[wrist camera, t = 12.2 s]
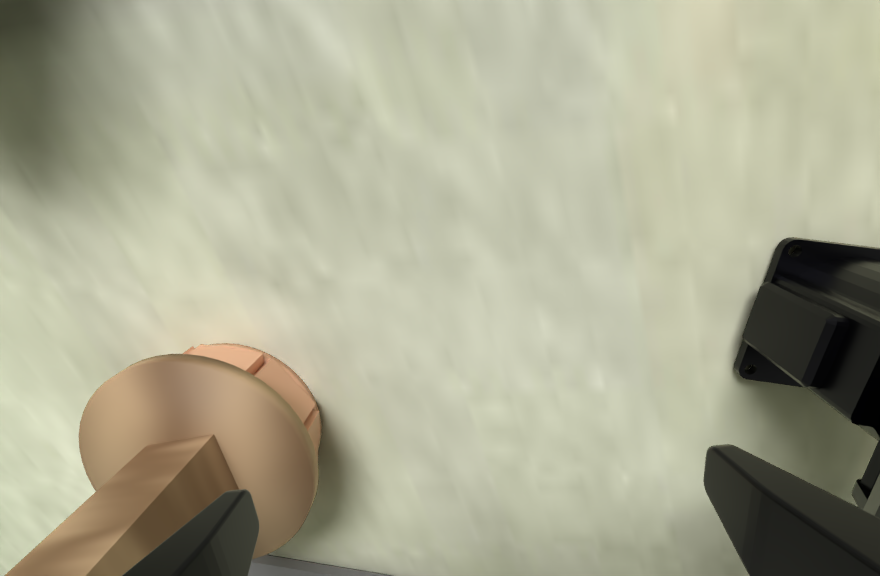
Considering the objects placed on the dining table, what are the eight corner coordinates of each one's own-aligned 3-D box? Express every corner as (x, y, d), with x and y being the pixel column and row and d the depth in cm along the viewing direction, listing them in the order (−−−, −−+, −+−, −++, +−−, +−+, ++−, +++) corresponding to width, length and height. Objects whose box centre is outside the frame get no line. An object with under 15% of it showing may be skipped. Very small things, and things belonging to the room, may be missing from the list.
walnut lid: (270, 332, 19) (22, 561, 9) (348, 535, 22) (232, 878, 12) (51, 377, 21) (-371, 611, 10) (152, 559, 24) (-96, 876, 14)
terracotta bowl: (324, 356, 23) (299, 390, 20) (319, 497, 26) (297, 546, 23) (152, 332, 23) (102, 361, 20) (167, 473, 26) (126, 518, 23)
